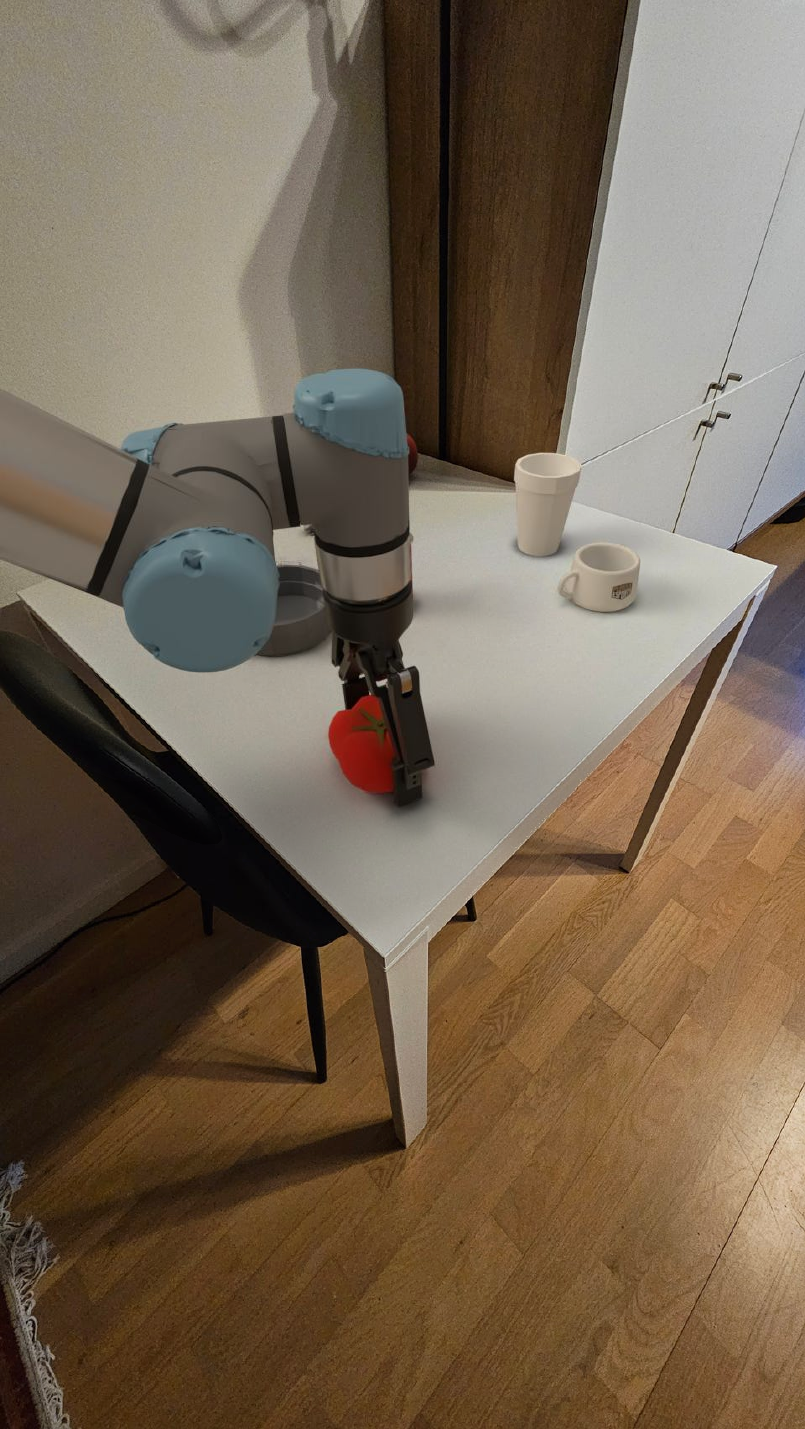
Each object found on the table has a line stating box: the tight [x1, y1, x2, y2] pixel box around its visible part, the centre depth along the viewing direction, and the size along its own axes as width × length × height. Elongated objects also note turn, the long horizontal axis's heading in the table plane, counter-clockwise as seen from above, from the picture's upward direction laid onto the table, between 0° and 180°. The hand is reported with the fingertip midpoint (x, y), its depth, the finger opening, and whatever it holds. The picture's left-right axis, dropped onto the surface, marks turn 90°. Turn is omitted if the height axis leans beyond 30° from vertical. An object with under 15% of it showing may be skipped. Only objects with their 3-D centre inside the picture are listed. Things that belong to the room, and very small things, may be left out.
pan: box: [256, 564, 332, 657], centre depth 85 cm, size 15×15×5 cm
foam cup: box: [513, 452, 583, 557], centre depth 96 cm, size 10×9×13 cm
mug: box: [557, 542, 641, 613], centre depth 87 cm, size 12×10×6 cm
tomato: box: [327, 694, 424, 794], centre depth 65 cm, size 10×11×6 cm
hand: (383, 761), depth 67 cm, fingers open, 11 cm apart
